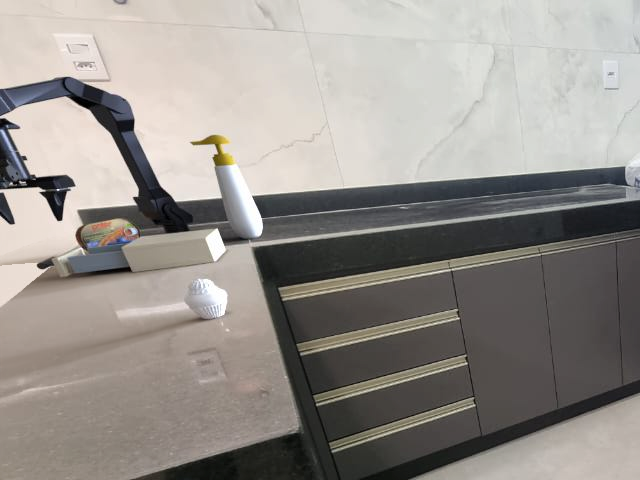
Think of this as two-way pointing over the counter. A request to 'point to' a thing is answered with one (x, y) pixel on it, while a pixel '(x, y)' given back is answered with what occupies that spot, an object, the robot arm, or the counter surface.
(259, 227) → the soap bottle
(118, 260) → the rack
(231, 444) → the counter surface
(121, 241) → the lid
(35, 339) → the counter surface
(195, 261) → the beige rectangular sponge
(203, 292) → the muffin
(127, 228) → the tin
